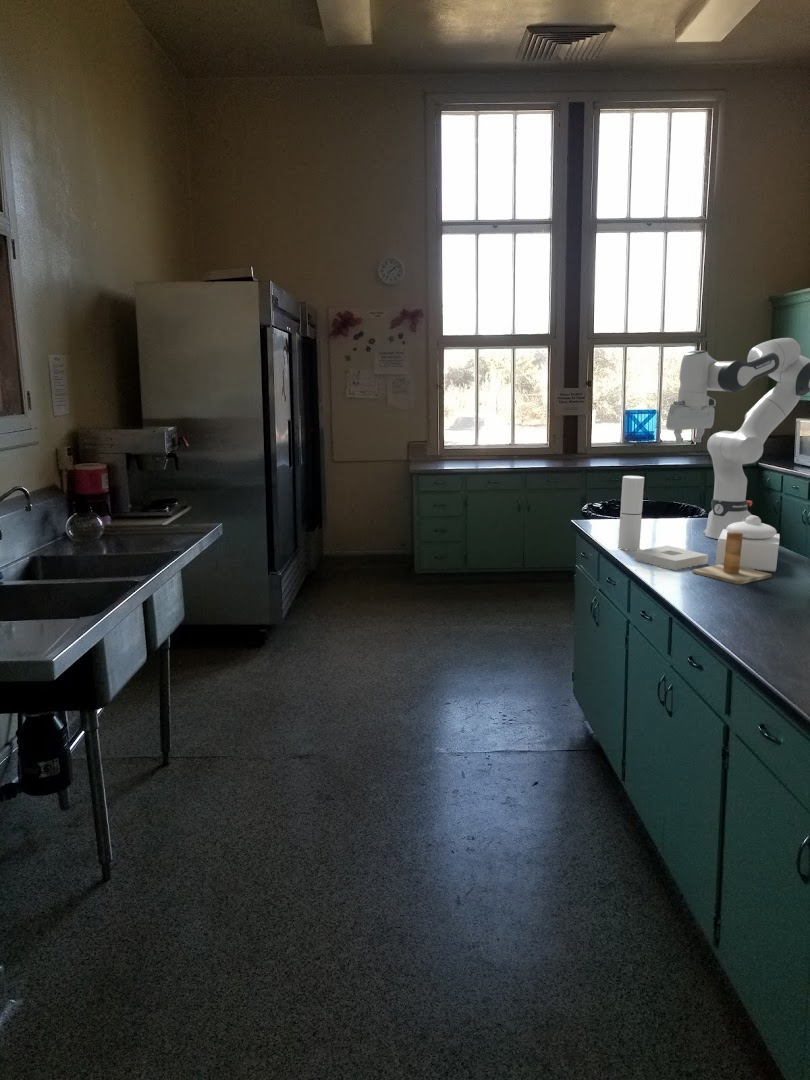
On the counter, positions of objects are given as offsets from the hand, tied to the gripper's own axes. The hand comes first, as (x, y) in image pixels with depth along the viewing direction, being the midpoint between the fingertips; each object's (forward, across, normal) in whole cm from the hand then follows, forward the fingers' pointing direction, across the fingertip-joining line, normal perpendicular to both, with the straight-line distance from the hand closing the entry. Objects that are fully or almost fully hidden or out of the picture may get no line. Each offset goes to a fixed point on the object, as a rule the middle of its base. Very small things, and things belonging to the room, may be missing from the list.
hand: (688, 442), depth 265 cm
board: (+37, -14, -30) cm, 50 cm away
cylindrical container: (+37, -12, +12) cm, 41 cm away
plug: (+36, -14, -30) cm, 49 cm away
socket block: (+37, -16, -9) cm, 41 cm away
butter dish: (+38, +5, -22) cm, 44 cm away
